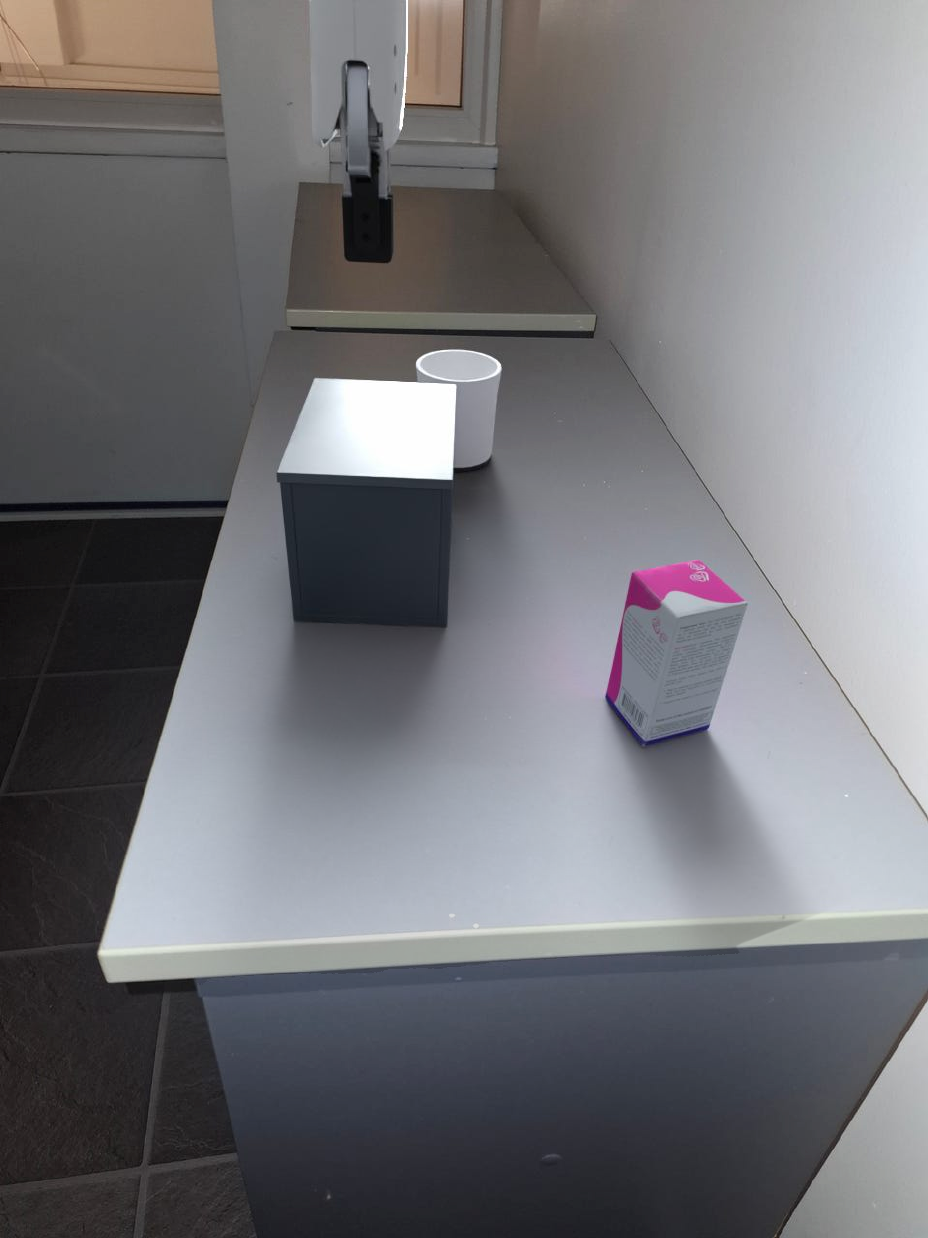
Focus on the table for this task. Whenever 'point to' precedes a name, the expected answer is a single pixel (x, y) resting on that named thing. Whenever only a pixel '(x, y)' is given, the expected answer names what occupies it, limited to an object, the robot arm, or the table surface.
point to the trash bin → (368, 553)
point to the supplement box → (673, 650)
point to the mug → (467, 400)
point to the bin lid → (373, 435)
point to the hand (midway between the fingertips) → (369, 258)
